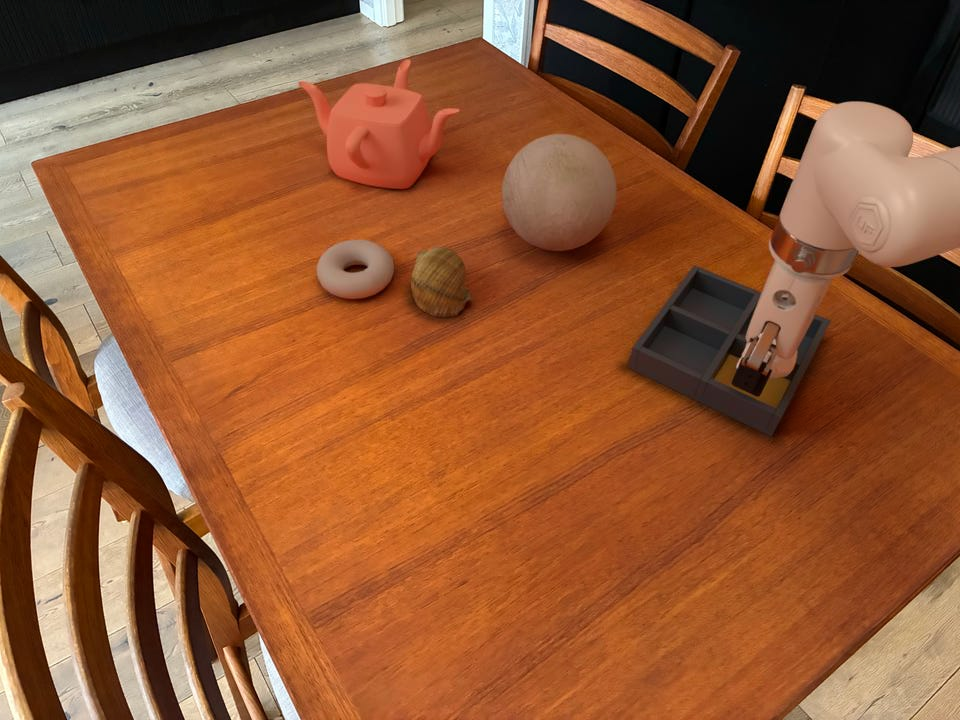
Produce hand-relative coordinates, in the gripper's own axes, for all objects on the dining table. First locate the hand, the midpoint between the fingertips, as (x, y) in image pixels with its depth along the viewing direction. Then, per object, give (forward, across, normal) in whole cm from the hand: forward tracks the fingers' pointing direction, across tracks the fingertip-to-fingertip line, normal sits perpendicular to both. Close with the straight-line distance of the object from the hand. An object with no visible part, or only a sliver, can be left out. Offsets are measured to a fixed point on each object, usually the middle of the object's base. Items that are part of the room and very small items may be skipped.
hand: (758, 367), depth 80 cm
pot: (+4, +12, +63) cm, 65 cm away
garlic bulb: (+1, 0, 0) cm, 1 cm away
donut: (+5, -11, +49) cm, 51 cm away
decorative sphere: (+5, +11, +32) cm, 34 cm away
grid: (+4, +4, +4) cm, 7 cm away
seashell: (+5, -7, +38) cm, 39 cm away
